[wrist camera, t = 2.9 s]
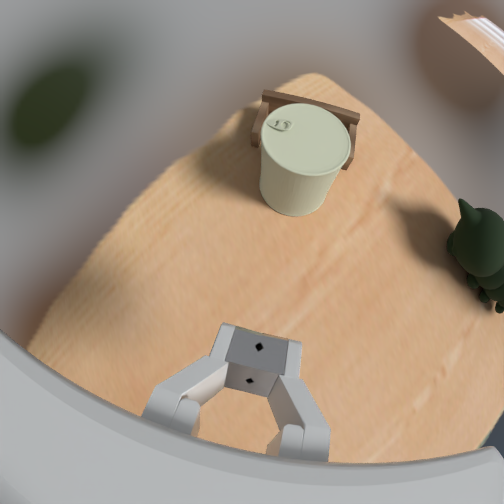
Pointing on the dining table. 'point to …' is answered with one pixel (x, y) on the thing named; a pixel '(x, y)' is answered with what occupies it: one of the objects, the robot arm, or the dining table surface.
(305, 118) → the can
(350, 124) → the holder
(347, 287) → the dining table surface
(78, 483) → the robot arm
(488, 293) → the toy figurine
